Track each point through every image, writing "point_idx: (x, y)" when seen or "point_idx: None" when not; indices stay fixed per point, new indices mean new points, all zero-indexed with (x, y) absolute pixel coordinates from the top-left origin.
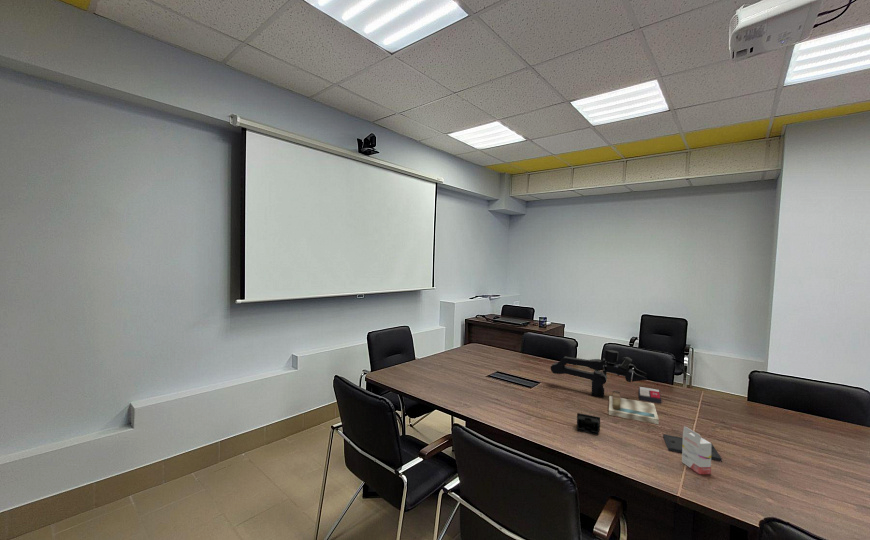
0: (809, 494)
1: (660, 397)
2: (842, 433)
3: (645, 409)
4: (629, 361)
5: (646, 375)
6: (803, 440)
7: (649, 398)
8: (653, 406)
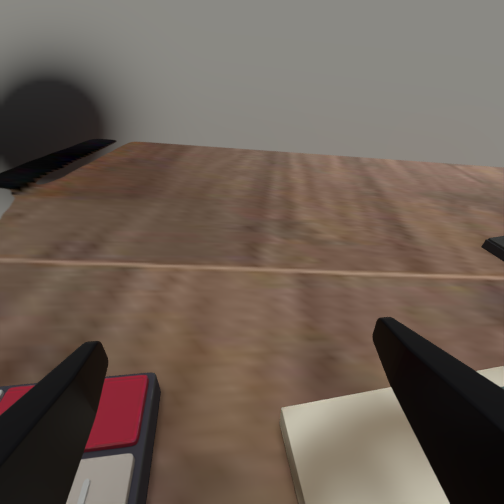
0: (490, 181)
1: (116, 378)
2: (175, 150)
3: None
4: None
5: (105, 365)
6: (251, 169)
7: (145, 459)
8: (350, 404)
